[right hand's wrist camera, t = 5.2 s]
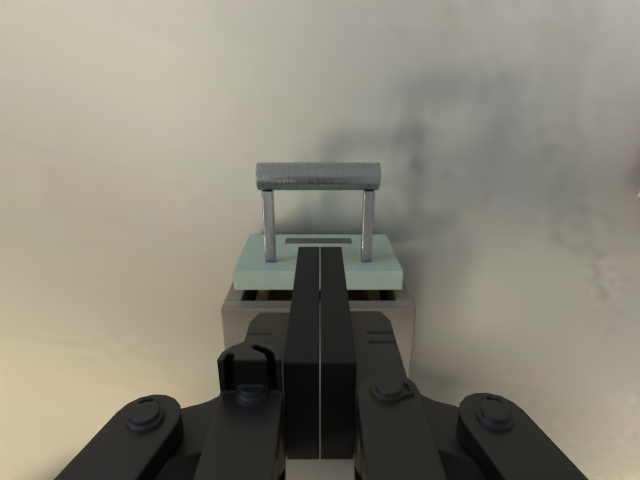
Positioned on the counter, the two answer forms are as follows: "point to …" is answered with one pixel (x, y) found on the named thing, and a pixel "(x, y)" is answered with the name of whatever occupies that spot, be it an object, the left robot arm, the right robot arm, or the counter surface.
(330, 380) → the right robot arm
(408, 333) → the cabinet
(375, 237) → the drawer
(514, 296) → the counter surface
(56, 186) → the counter surface
